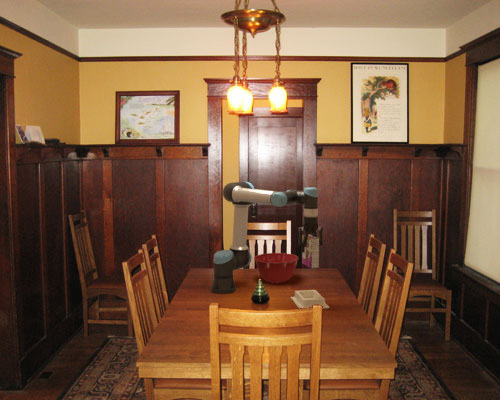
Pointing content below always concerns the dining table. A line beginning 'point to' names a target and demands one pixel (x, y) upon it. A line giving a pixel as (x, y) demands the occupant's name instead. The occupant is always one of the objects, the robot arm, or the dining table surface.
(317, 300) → the beige shallow square tray
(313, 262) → the candy bar box
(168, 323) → the dining table surface
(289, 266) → the mixing bowl
